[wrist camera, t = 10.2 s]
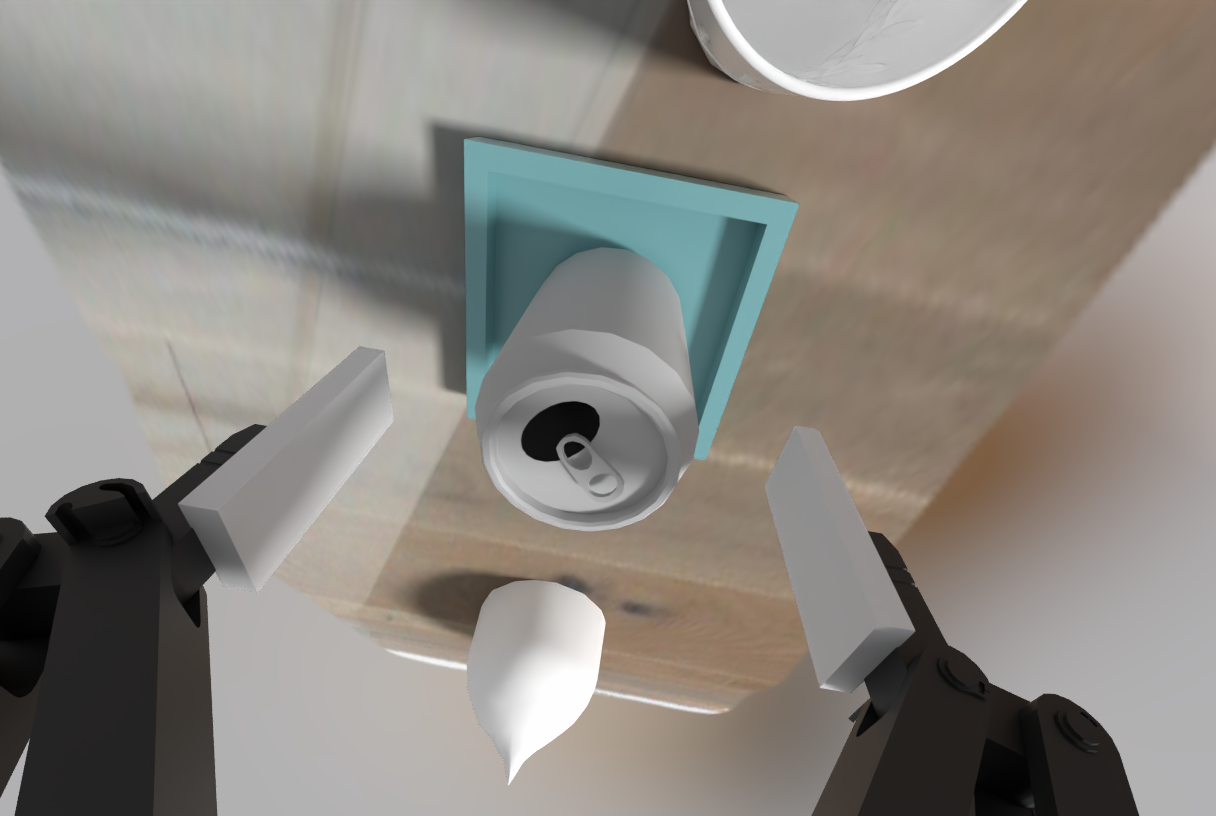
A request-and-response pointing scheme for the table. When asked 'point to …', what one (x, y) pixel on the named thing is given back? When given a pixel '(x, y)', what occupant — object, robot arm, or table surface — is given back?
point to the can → (591, 396)
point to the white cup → (842, 42)
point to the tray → (622, 219)
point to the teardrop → (532, 665)
